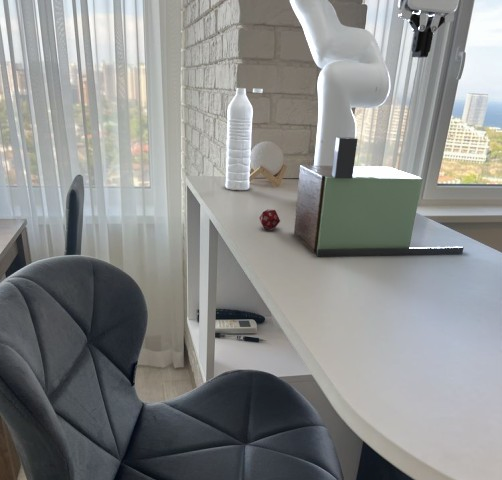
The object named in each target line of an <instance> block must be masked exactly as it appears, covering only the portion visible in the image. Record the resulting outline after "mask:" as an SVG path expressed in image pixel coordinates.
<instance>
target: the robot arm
mask: <svg viewBox="0 0 502 480" xmlns="http://www.w3.org/2000/svg"><path fill="white" fill-rule="evenodd" d="M289 3H290V5H291V8H292V10H293V12H294V14H295V17H296V18H297V20H298V22H299V23H300V25H301V27H302V30H303V33H304V36H305V39H306V42H307V45H308V48H309V51H310V53H311V57H312V59H313V61H314V63H315V64H316V66H317V68H320V69H321V70H320V71H319V73H318V74H319V75H318V77H317V83H316V84H317V88H316V89H317V103H318V105H317V106H318V112H317V126H316V139H315V148H314V149H315V150H314V157H313V158H314V159H313V165H316V166H333V161H334V153H335V144H336V137H341V138H356V139H357V131H358V130H357V129H358V128H357V120H356V118H355V115H354V113H353V109H352V108H357V109H359V108H361V109H374V108H377V107H381V106H382V105H383V104H384V103H385V102H386V100H387V99H388V97H389V94H390V91H391V76H390V73H389V70H388V66H387V65H386V62H385V60H384V57H383V54H382V51H381V48H380V46H379V43H378V40H377V39H376V37H375V36H374V34H373V33H371V32H370V31H369V30H367V29H364V28H360V27H354V26H347V25H344V24H342V23H341V22H340V21H341V20H340V19H339V17H338V14H337V11H336V9H335V8H334V6H333V4H332V3H331V2H330V1H329V0H289ZM459 3H460V0H397V8H398V10H399V11H398V17H399V18H400V19H402V20H403V21H406V22H408V24H409V25H410V27H411V31H412V33H413V38H412V39H413V40H412V45H411V52H412V54H411V57H412V58H419V59H420V58H421V59H422V58H428V57H429V53H430V52H431V48H432V44H433V43H432V42H433V37H434V33H436V32H437V30H438V29H439V28H440V27H441V26H442V25H444V24H447V23H452V22H454V21H455V13H456V10H457V9H458V7H459Z"/></svg>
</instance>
